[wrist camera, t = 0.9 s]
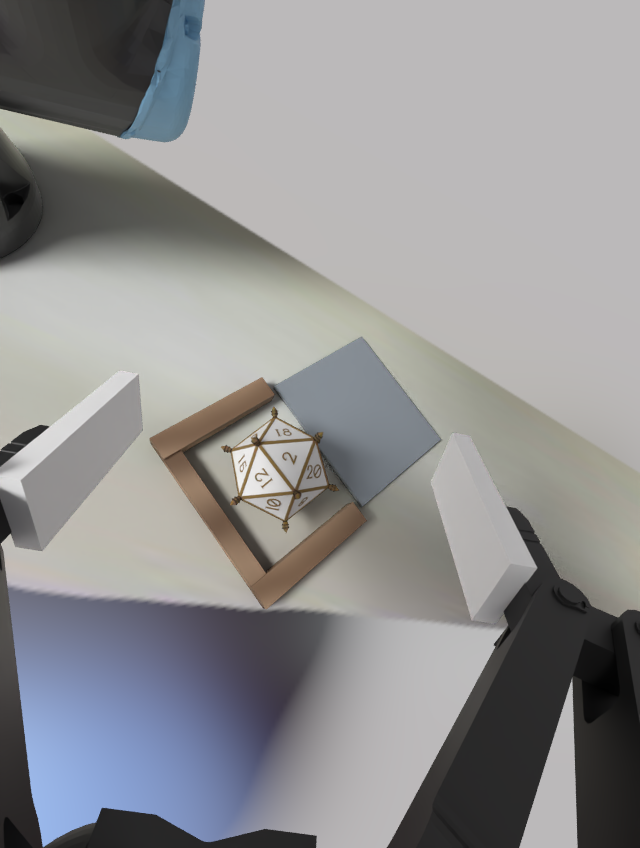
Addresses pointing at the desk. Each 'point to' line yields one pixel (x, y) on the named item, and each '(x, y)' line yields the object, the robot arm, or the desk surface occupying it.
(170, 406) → the desk surface
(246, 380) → the desk surface
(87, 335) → the desk surface
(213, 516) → the open frame
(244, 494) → the game die
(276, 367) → the desk surface
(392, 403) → the mat
